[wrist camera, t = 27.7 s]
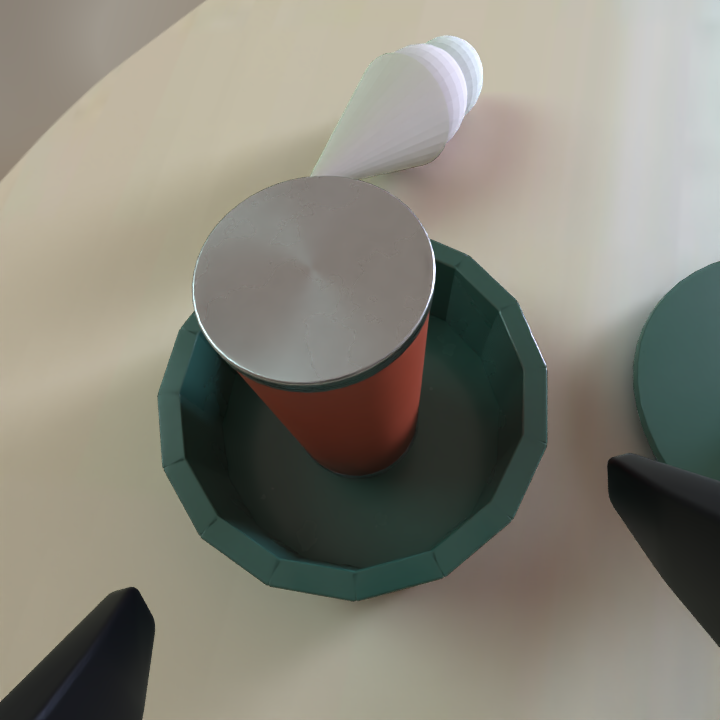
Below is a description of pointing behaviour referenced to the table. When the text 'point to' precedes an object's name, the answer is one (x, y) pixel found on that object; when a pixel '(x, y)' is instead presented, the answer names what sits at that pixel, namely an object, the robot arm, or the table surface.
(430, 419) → the pot
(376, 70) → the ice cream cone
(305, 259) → the tin can
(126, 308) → the table surface
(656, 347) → the pot lid
